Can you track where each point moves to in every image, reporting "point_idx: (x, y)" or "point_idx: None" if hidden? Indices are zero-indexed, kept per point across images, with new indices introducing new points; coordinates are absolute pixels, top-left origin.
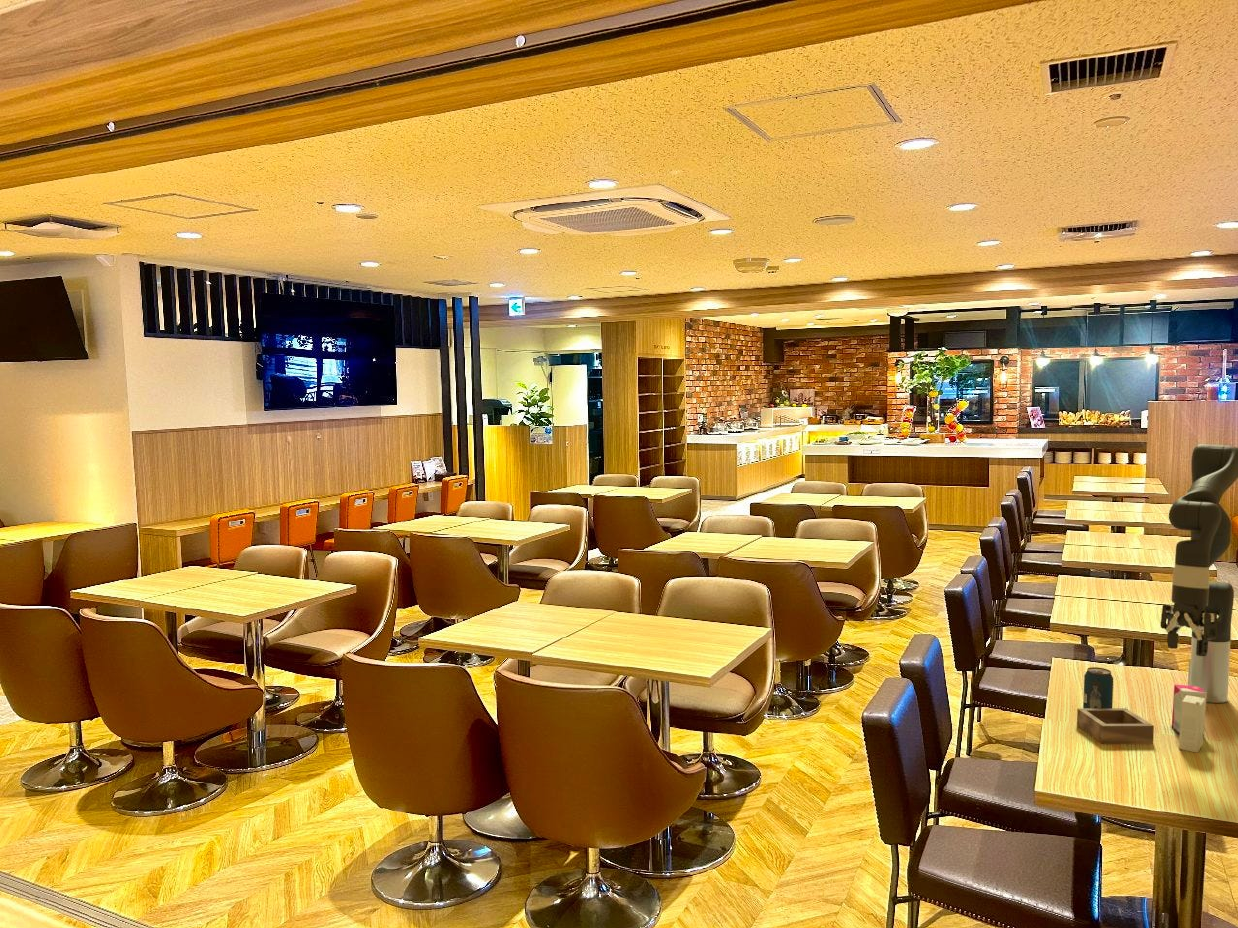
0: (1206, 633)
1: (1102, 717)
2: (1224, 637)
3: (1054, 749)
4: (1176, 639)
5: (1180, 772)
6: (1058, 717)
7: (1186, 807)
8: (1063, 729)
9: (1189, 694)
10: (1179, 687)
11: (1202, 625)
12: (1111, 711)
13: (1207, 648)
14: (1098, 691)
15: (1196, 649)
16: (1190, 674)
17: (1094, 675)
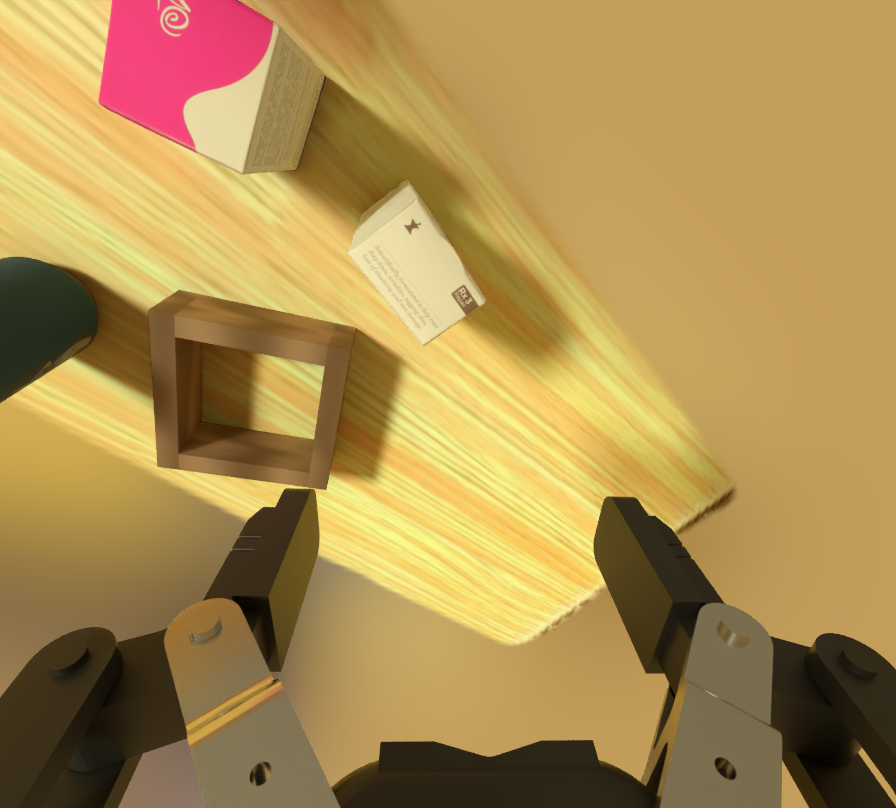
0: (835, 784)
1: (188, 392)
2: None
3: (348, 560)
4: (291, 555)
5: (543, 407)
6: (107, 441)
7: (663, 510)
8: (217, 481)
9: (259, 138)
10: (168, 130)
11: (719, 801)
12: (178, 375)
13: (689, 557)
14: (35, 376)
15: (610, 589)
16: None
17: None
